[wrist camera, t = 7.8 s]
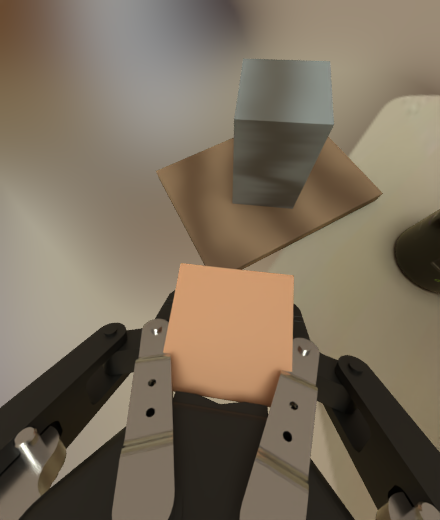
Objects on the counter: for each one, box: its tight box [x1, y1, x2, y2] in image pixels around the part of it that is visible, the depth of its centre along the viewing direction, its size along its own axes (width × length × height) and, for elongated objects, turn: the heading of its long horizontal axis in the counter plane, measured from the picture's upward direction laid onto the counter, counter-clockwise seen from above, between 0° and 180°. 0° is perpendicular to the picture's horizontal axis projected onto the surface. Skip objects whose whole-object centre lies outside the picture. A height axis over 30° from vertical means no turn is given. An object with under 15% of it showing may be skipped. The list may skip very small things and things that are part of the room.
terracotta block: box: [163, 263, 294, 407], centre depth 13 cm, size 5×5×9 cm
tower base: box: [156, 59, 383, 270], centre depth 19 cm, size 19×14×10 cm
